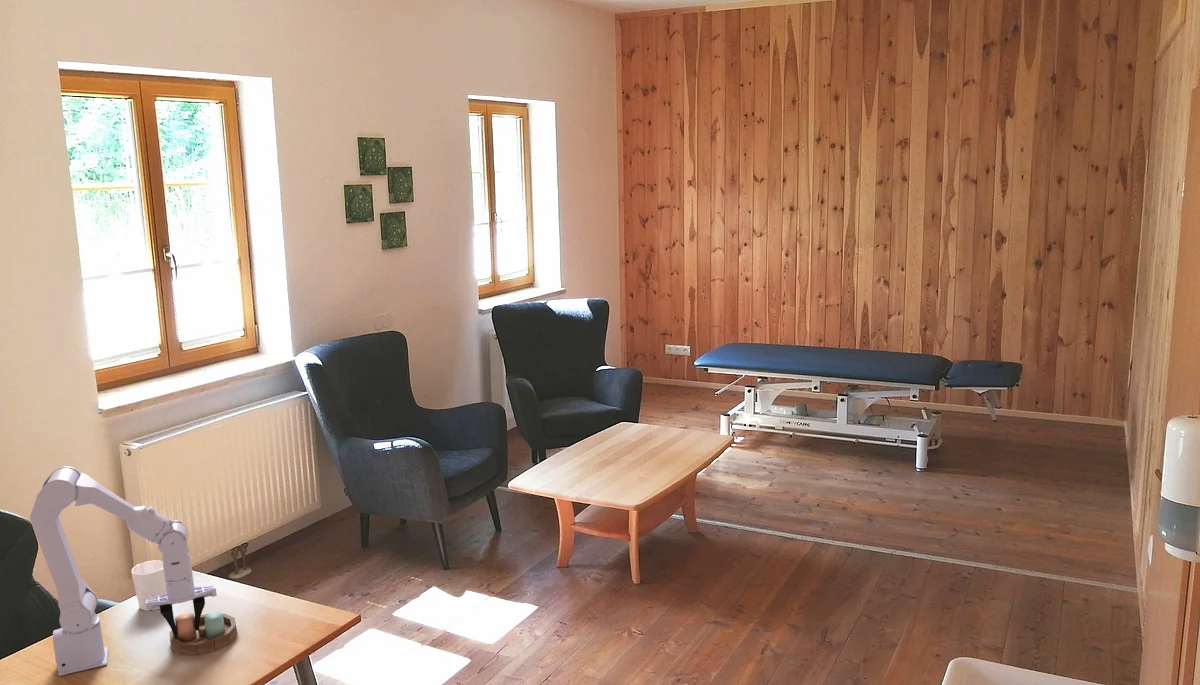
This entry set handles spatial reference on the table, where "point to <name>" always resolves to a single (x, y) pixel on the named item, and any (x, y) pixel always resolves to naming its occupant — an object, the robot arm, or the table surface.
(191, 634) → the peach rounded cylinder
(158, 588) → the white cup
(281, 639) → the table surface
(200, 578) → the table surface
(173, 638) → the tray
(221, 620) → the pale teal rounded piece
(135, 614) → the table surface
